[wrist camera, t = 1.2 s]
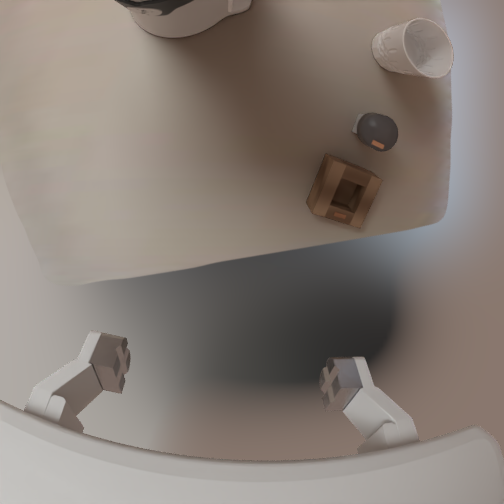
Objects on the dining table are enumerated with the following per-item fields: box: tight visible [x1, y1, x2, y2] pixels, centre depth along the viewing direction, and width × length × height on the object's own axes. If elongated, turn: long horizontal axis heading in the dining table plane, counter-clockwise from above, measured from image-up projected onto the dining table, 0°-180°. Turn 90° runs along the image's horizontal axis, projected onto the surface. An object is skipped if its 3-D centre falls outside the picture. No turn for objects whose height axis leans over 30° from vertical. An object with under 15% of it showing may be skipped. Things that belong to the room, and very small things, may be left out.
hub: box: [306, 154, 383, 228], centre depth 41 cm, size 8×8×4 cm
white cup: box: [372, 18, 454, 79], centre depth 28 cm, size 8×8×10 cm
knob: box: [352, 113, 398, 151], centre depth 35 cm, size 5×5×6 cm
